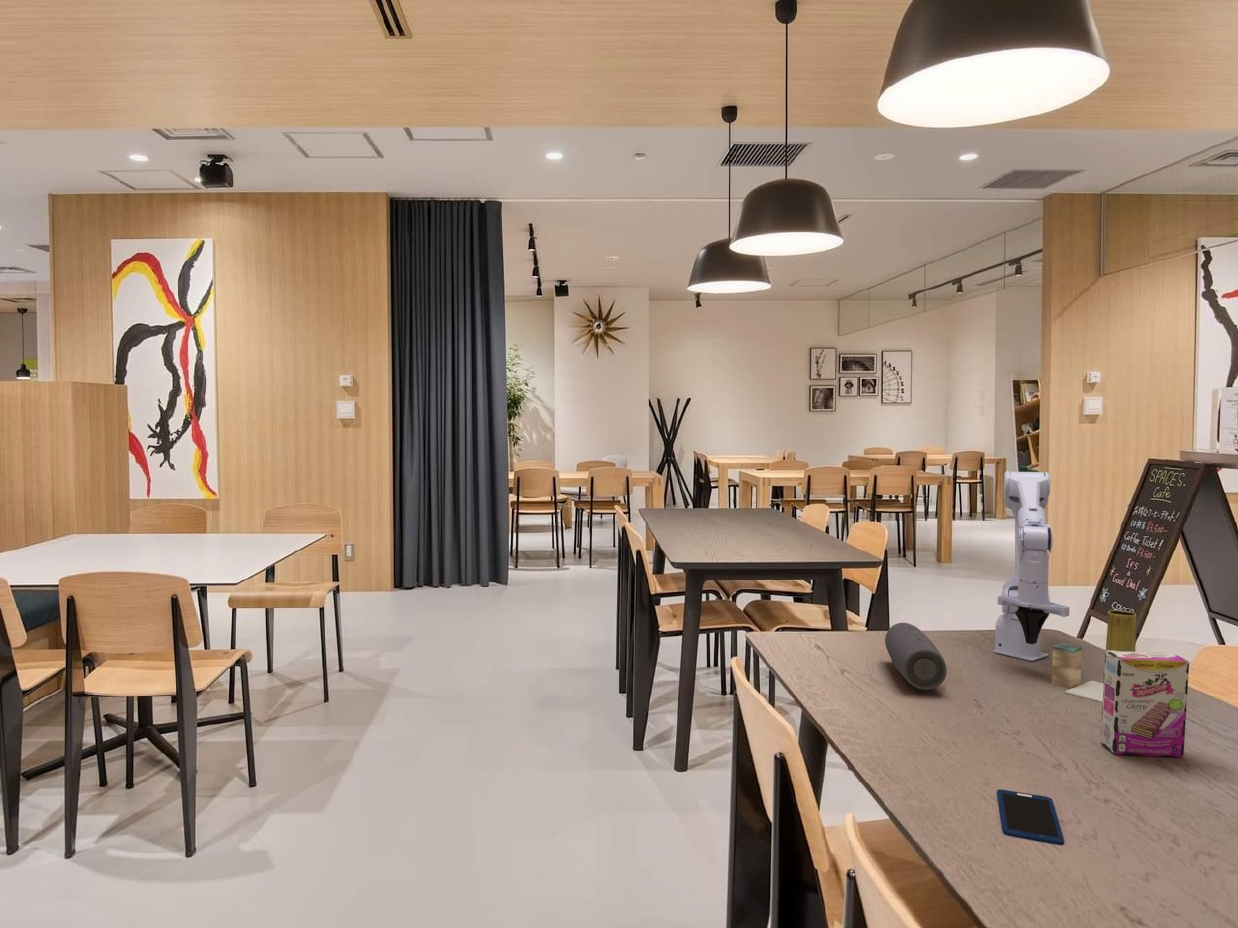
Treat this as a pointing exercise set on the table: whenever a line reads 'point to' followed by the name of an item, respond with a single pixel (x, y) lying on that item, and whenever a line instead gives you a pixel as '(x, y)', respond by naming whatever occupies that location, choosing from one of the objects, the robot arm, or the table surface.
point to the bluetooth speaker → (915, 656)
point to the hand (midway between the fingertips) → (1031, 643)
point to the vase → (1121, 631)
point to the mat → (1088, 691)
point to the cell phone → (1029, 817)
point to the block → (1066, 665)
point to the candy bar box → (1144, 703)
